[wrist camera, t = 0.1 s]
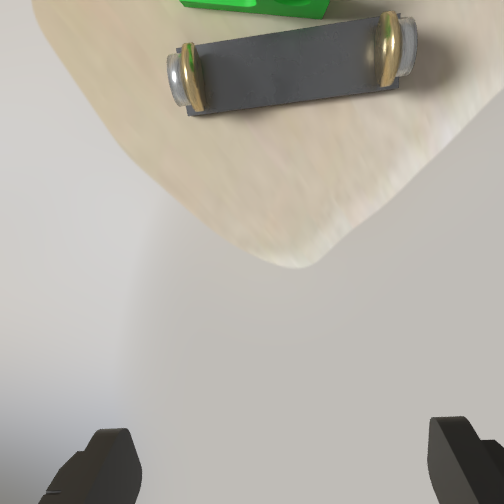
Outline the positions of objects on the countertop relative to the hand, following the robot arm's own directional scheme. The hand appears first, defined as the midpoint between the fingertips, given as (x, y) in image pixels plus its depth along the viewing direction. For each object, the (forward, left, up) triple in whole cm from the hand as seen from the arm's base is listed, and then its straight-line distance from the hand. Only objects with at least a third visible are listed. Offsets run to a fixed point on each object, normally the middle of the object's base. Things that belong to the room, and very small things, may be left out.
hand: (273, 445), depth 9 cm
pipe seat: (-12, +2, -29) cm, 31 cm away
